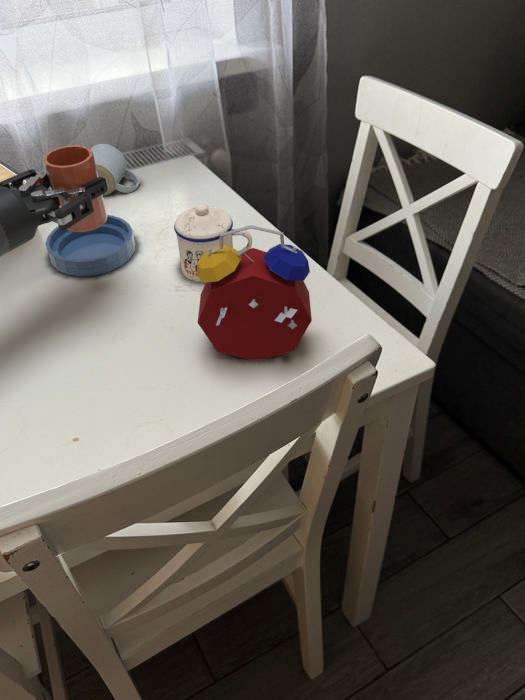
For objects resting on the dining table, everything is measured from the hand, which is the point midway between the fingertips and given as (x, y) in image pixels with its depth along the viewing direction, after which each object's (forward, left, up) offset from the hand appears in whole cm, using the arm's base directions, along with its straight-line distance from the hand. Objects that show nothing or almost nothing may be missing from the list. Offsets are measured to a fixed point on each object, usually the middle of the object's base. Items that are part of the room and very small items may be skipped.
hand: (87, 176), depth 85 cm
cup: (-1, -2, -6) cm, 6 cm away
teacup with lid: (+16, +6, -18) cm, 25 cm away
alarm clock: (+27, -12, -18) cm, 35 cm away
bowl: (-6, +6, -18) cm, 20 cm away
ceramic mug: (-12, +28, -18) cm, 35 cm away
